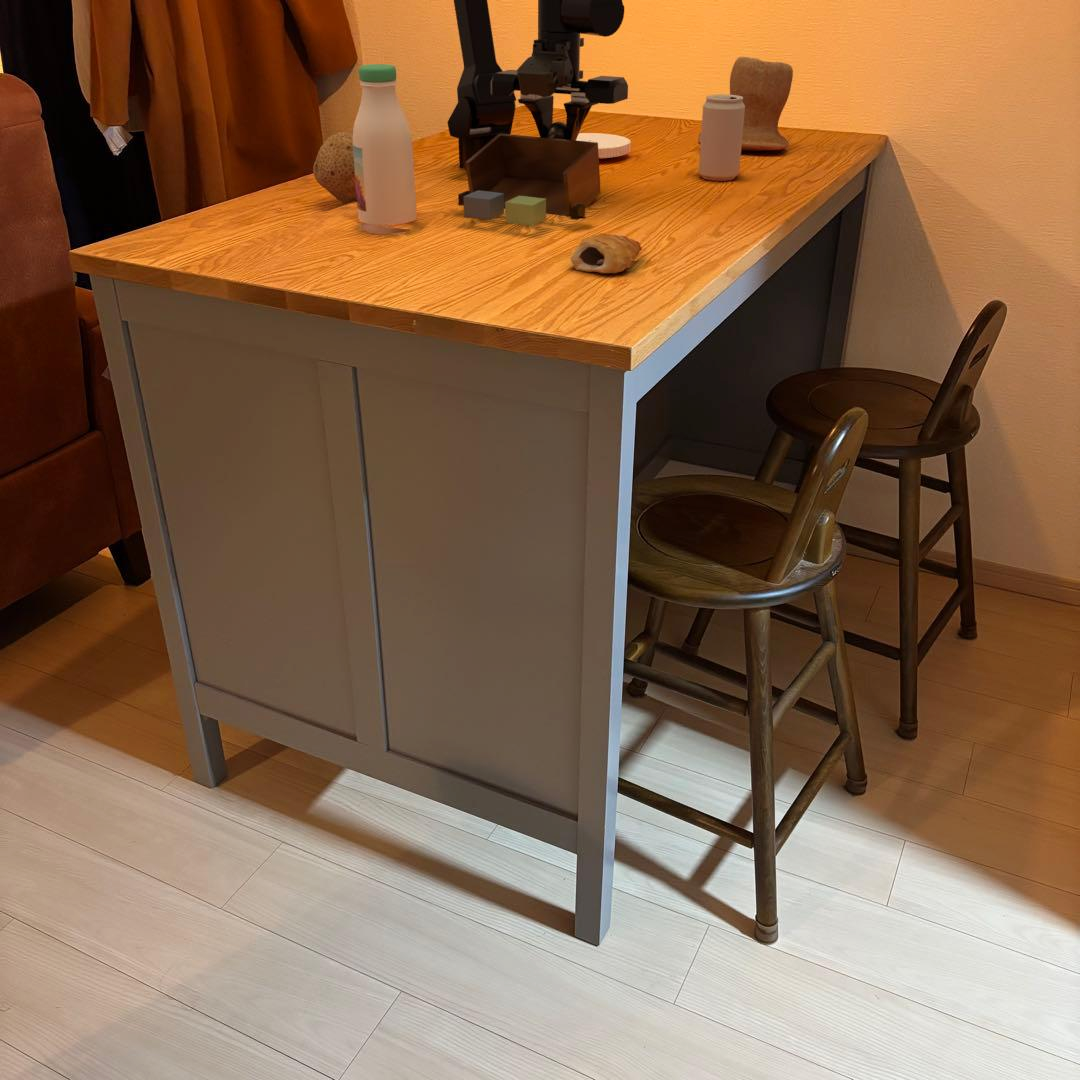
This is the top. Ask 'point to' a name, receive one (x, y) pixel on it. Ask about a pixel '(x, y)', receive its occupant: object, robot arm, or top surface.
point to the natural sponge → (337, 167)
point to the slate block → (484, 205)
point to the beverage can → (721, 137)
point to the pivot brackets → (576, 211)
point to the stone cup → (761, 101)
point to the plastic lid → (607, 144)
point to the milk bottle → (382, 154)
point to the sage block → (525, 210)
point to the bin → (538, 169)
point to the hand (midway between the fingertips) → (557, 151)
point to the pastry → (605, 253)
